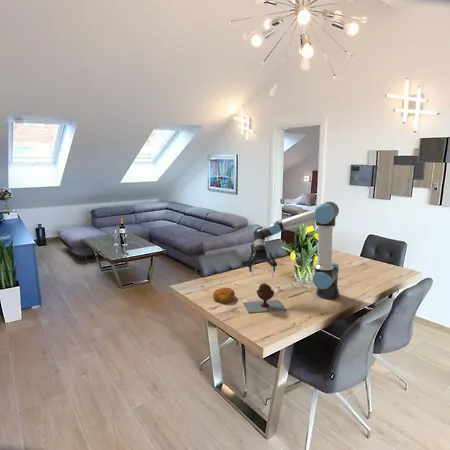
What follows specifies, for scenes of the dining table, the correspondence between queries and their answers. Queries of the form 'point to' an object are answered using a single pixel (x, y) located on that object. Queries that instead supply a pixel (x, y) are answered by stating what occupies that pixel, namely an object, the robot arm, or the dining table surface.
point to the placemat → (256, 307)
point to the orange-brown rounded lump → (223, 295)
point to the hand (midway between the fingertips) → (262, 276)
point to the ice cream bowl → (265, 294)
